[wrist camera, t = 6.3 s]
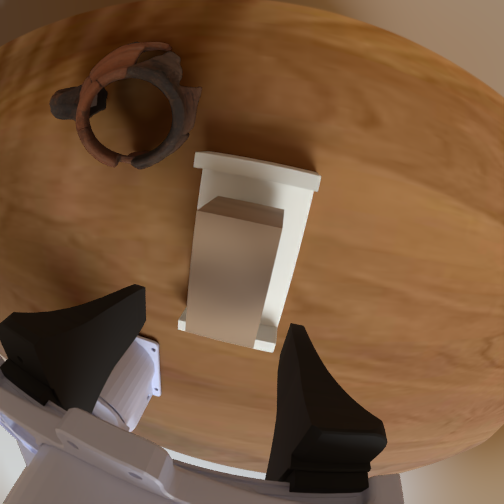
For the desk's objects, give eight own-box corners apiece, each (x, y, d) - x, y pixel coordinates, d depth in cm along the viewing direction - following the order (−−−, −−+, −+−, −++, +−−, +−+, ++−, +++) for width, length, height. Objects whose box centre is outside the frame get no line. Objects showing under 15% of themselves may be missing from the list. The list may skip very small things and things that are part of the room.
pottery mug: (209, 34, 16) (201, 42, 11) (204, 133, 24) (198, 184, 18) (72, 51, 15) (17, 78, 9) (85, 141, 22) (47, 192, 16)
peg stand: (275, 330, 24) (272, 352, 22) (189, 310, 25) (178, 329, 22) (316, 172, 19) (321, 176, 16) (208, 151, 19) (195, 152, 17)
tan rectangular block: (260, 310, 21) (253, 348, 17) (204, 297, 21) (185, 331, 17) (284, 209, 18) (282, 228, 14) (217, 195, 18) (196, 210, 14)
